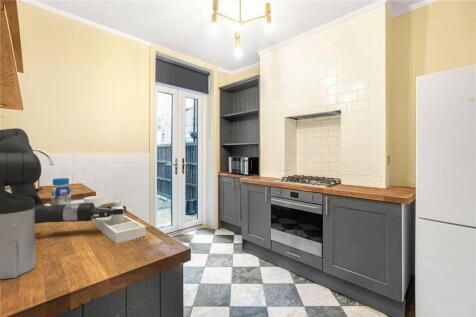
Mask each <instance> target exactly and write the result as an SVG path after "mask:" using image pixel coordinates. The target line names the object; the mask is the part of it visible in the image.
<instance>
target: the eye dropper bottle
mask: <svg viewBox="0 0 476 317" xmlns="http://www.w3.org/2000/svg"><path fill="white" fill-rule="evenodd" d="M121 202H122V201H121V200H120V198H119V197H116V200H115V201H114V205H115V206H114V207H112V208H111V209H113V210H114V209H123V210H124V208H123V207H122V206H123V205H122V203H121ZM124 215H125V212H124V213H123V214H120V215H112V216H111V225H116V224H121V223H124Z"/></svg>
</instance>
